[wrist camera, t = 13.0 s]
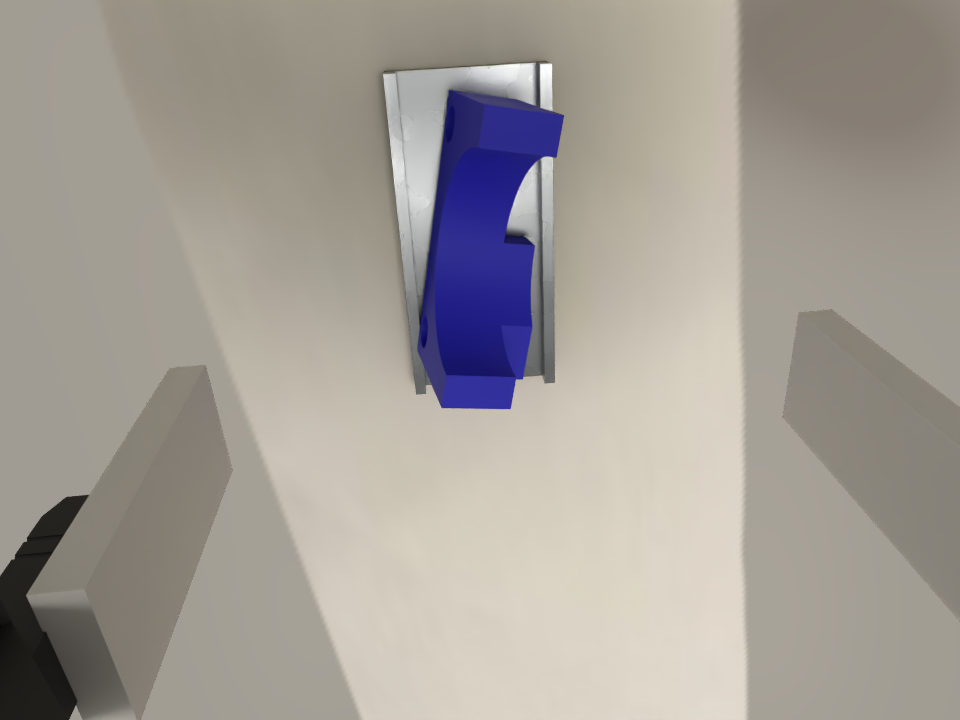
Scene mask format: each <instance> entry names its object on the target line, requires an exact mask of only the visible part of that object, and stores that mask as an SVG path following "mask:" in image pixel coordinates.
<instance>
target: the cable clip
mask: <svg viewBox="0 0 960 720" xmlns="http://www.w3.org/2000/svg"><path fill="white" fill-rule="evenodd" d="M563 118H564V115H561V114H558V113H555V112H552V111H549V110H547V109H544V108H541V107H538V106H535V105H532V104H529V103H526V102H523V101H520V100H517V99H511V98H504V97H497V96H490V95H483V94H476V93H469V92H462V91H455V90H449V96H448V104H447V112H446V120H445V128H444V136H443V144H442V152H441V160H440V169H439V177H438V185H437V193H436V201H435V209H434V217H433V225H432V234H431V242H430V250H429V258H428V266H427V274H426V282H425V290H424V298H423V307H422V315H421V323H420V331H419V339H418V347H417V351H418V353H419V356H420V358H421V360H422V363H423V365H424V368H425V370H426V372H427V375H428V377H429V379H430V382H431V384H432V386H433V389H434V391H435V393H436V396H437V398H438V400H439V403H440V405H441V408H475V409H511V403H512V398H513V392H514V387H515V381H516V379H523V376H524V370H525V365H526V360H527V354H528V349H529V344H530V338H531V333H532V327H533V326H532V315H531V277H532V266H533V257H534V250H535V245H534V244H533V243H532V242H530V241H529V240H528V239H527V238H526V237H519V236H508V235H505V234H506V229H507V225H508V221H509V216H510V213H511V209H512V206H513V203H514V200H515V197H516V195H517V192H518V190H519V188H520V185H521V183H522V181H523V179H524V178H525V176H526V174H527V173H528V171H529V170H530V168H531V167H532V166H533V165H534V164H535V163H536V162H537V161H538V160H540V159H541V158H543V157H546V156H547V157H555V158H556V157H557V151H558V146H559V140H560V135H561V129H562V124H563Z"/></svg>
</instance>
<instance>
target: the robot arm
mask: <svg viewBox="0 0 960 720" xmlns="http://www.w3.org/2000/svg"><path fill="white" fill-rule="evenodd" d="M783 418H784V419H785V420H786V422H787V423H788V424H789V425H790V426H791V427H792V429H793V430H794V431H795V432H796V433H797V434H798V436H799V437H800V438H801V439H802V440H803V441H804V442H805V443H806V445H807V446H808V447H809V448H810V449H811V450H812V452H813V453H814V454H815V455H816V456H817V457H818V458H819V460H820V461H821V462H822V463H823V464H824V465H825V467H826V468H827V469H828V470H829V471H830V472H831V473H832V475H833V476H834V477H835V478H836V479H837V480H838V482H839V483H840V484H841V485H842V486H843V487H844V488H845V490H846V491H847V492H848V493H849V494H850V495H851V497H852V498H853V499H854V500H855V501H856V502H857V503H858V505H859V506H860V507H861V508H862V509H863V510H864V512H865V513H866V514H867V515H868V516H869V517H870V518H871V520H872V521H873V522H874V523H875V524H876V525H877V527H878V528H879V529H880V530H881V531H882V532H883V533H884V535H885V536H886V537H887V538H888V539H889V540H890V542H891V543H892V544H893V545H894V546H895V547H896V548H897V550H898V551H899V552H900V553H901V554H902V555H903V556H904V558H906V560H907V561H908V562H909V563H910V564H911V566H912V567H913V568H914V569H915V570H916V571H917V573H918V574H919V575H920V576H921V577H922V578H923V579H924V581H925V582H926V583H927V584H928V585H929V586H930V588H931V589H932V590H933V591H934V592H935V593H936V594H937V596H938V597H939V598H940V599H941V600H942V601H943V603H944V604H945V605H946V606H947V607H948V608H949V609H950V611H951V612H952V613H953V614H954V615H955V616H956V618H957V619H958V620H959V621H960V407H959V406H958V405H957V404H955V403H954V402H953V401H951V400H950V399H949V398H947V397H946V396H945V395H943V394H942V393H941V392H939V391H938V390H937V389H936V388H934V387H933V386H931V385H930V384H929V383H928V382H926V381H925V380H924V379H922V378H921V377H920V376H919V375H917V374H916V373H915V372H913V371H912V370H911V369H909V368H908V367H906V366H905V365H904V364H903V363H901V362H900V361H899V360H897V359H896V358H895V357H894V356H892V355H891V354H890V353H888V352H887V351H886V350H884V349H883V348H882V347H880V346H879V345H878V344H876V343H875V342H874V341H873V340H871V339H870V338H869V337H867V336H866V335H865V334H863V333H862V332H861V331H859V330H858V329H857V328H856V327H854V326H853V325H852V324H850V323H849V322H848V321H846V320H845V319H844V318H842V317H841V316H840V315H838V314H837V313H836V312H835V311H833V310H820V311H809V312H799V314H798V321H797V327H796V334H795V340H794V346H793V353H792V360H791V366H790V373H789V379H788V385H787V392H786V399H785V405H784V411H783ZM232 470H233V469H232V465H231V462H230V458H229V454H228V450H227V446H226V442H225V438H224V435H223V430H222V427H221V423H220V419H219V415H218V411H217V407H216V403H215V399H214V395H213V392H212V388H211V384H210V380H209V376H208V372H207V368H206V365H199V366H188V367H177V368H169V370H168V371H167V373H166V375H165V376H164V378H163V379H162V381H161V383H160V384H159V386H158V387H157V389H156V390H155V392H154V394H153V395H152V397H151V399H150V400H149V401H148V403H147V405H146V406H145V408H144V410H143V411H142V413H141V414H140V416H139V417H138V419H137V421H136V422H135V424H134V425H133V427H132V428H131V430H130V432H129V433H128V435H127V436H126V438H125V440H124V441H123V443H122V444H121V446H120V447H119V449H118V451H117V452H116V454H115V455H114V457H113V459H112V460H111V462H110V463H109V465H108V467H107V468H106V469H105V471H104V473H103V474H102V476H101V477H100V479H99V481H98V482H97V484H96V485H95V487H94V488H93V490H92V492H91V493H90V495H83V496H72V497H66V498H65V499H63V500H62V501H61V502H60V503H58V504H57V505H56V506H55V507H53V508H52V509H51V510H49V511H48V512H47V513H46V514H44V515H43V516H42V517H41V519H40V520H39V521H38V523H37V524H36V526H35V527H34V528H33V530H32V531H31V533H30V534H29V536H28V537H27V542H24V543H23V544H22V546H21V547H20V548H19V550H18V551H17V553H16V554H15V559H14V560H11V561H10V563H9V564H8V566H7V567H6V569H5V570H4V572H3V573H2V574H1V576H0V720H69V719H70V716H71V714H72V712H73V710H74V708H75V706H76V705H77V708H78V710H79V712H80V715H81V717H82V719H83V720H141V718H142V715H143V712H144V710H145V707H146V704H147V701H148V699H149V696H150V693H151V690H152V688H153V685H154V682H155V680H156V677H157V674H158V672H159V668H160V666H161V663H162V660H163V658H164V655H165V652H166V650H167V647H168V644H169V642H170V639H171V636H172V633H173V631H174V628H175V625H176V622H177V620H178V617H179V614H180V612H181V609H182V606H183V604H184V601H185V598H186V595H187V593H188V590H189V587H190V584H191V582H192V579H193V576H194V574H195V571H196V568H197V565H198V563H199V560H200V557H201V555H202V552H203V549H204V546H205V544H206V541H207V538H208V535H209V533H210V530H211V527H212V525H213V522H214V519H215V516H216V514H217V511H218V508H219V506H220V503H221V500H222V497H223V495H224V492H225V489H226V486H227V484H228V481H229V478H230V476H231V473H232Z"/></svg>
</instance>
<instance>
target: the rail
mask: <svg viewBox="0 0 960 720" xmlns="http://www.w3.org/2000/svg"><path fill="white" fill-rule="evenodd" d="M383 79H384V88H385V98H386V107H387V117H388V127H389V136H390V146H391V156H392V165H393V175H394V185H395V194H396V204H397V214H398V223H399V233H400V242H401V252H402V262H403V271H404V281H405V291H406V300H407V310H408V320H409V329H410V339H411V349H412V358H413V368H414V377H415V387H416V394H426V385H432V384H431V382H430V379H429V377H428V375H427V372H426V370H425V368H424V365H423V363H422V360H421V358H420V356H419V353H418V351H417V347H418V339H419V331H420V323H421V315H422V307H423V298H424V290H425V282H426V274H427V266H428V258H429V250H430V242H431V234H432V225H433V217H434V209H435V201H436V193H437V185H438V177H439V169H440V160H441V152H442V144H443V136H444V128H445V120H446V112H447V104H448V96H449V90H455V91H462V92H469V93H476V94H483V95H490V96H497V97H504V98H511V99H517V100H520V101H523V102H526V103H529V104H532V105H535V106H538V107H541V108H544V109H547V110H549V111H552V63H549V62H547V61H542V62H527V63H511V64H495V65H479V66H464V67H448V68H432V69H416V70H400V71H385V72H384V73H383ZM505 235H508V236H519V237H526V238H527V239H528V240H529V241H530V242H532V243H533V244H534V245H535V250H534V257H533V266H532V277H531V315H532V326H533V327H532V333H531V338H530V344H529V349H528V354H527V360H526V365H525V370H524V376H523V377H527V376H539V375H542V376H543V379H544V382H545V383H554V382H555V353H554V240H553V157H547V156H546V157H543V158H541V159H540V160H538V161H537V162H536V163H535V164H534V165H533V166H532V167H531V168H530V170H529V171H528V173H527V174H526V176H525V178H524V179H523V181H522V183H521V185H520V188H519V190H518V192H517V195H516V197H515V200H514V203H513V206H512V209H511V213H510V216H509V221H508V225H507V229H506V234H505Z"/></svg>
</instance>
